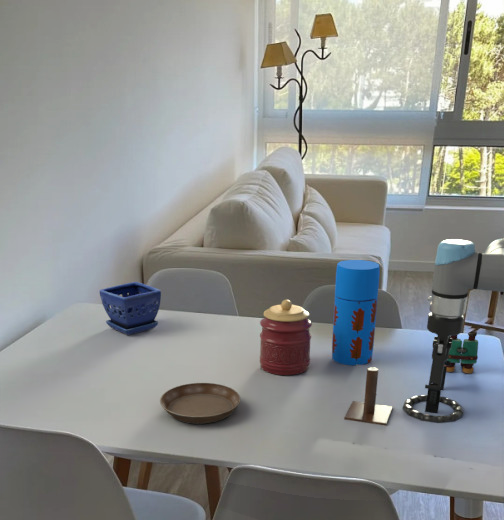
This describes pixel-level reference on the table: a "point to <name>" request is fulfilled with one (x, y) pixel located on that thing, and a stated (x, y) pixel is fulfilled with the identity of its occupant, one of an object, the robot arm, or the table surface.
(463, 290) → the robot arm
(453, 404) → the ring
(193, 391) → the plant saucer
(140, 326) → the flower pot
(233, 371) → the table surface
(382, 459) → the table surface
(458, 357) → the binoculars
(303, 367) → the kitchen canister
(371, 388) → the stand
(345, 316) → the thermos
